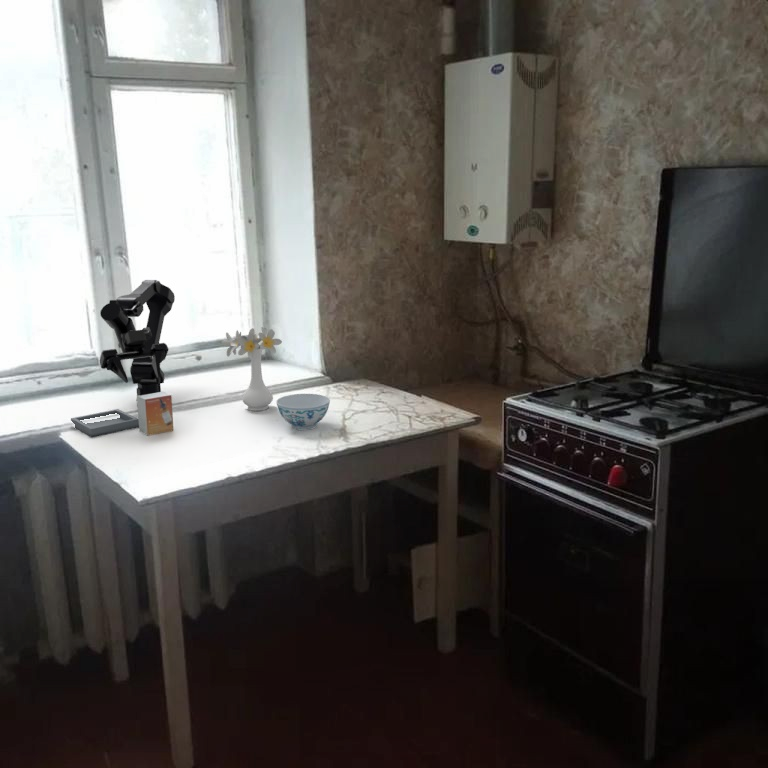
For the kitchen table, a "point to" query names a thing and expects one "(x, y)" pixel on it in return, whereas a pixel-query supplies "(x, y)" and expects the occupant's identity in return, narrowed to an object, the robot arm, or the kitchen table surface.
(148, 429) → the small box
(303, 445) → the kitchen table surface
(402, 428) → the kitchen table surface
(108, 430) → the tray
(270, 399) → the flower vase
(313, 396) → the chinaware
